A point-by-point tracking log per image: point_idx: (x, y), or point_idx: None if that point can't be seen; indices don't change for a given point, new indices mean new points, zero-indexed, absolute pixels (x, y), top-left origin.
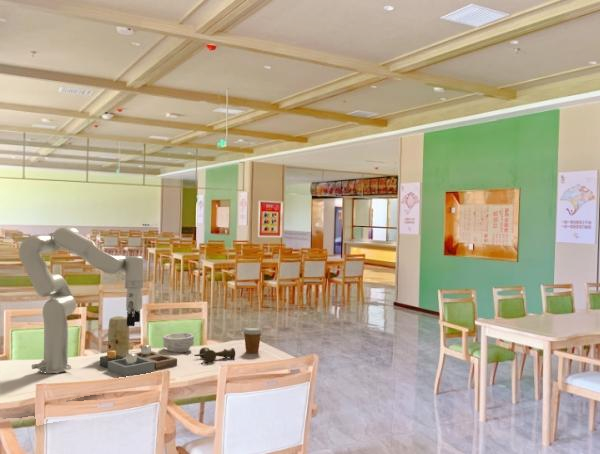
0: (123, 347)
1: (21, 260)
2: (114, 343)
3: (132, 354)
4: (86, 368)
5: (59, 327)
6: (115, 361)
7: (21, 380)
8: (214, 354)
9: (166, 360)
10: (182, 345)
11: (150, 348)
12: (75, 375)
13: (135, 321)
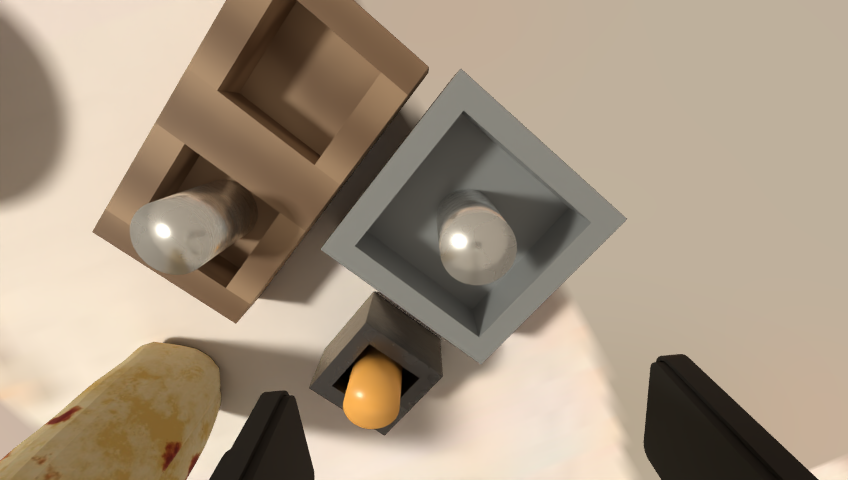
0: (161, 392)
1: None
2: (174, 458)
3: (475, 243)
4: (404, 440)
5: None
6: (467, 327)
7: None
8: None
9: (343, 6)
10: None
11: (181, 197)
12: (525, 437)
13: (304, 446)
